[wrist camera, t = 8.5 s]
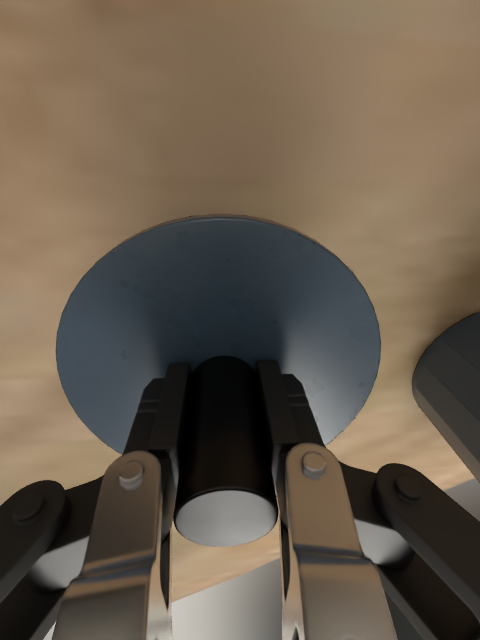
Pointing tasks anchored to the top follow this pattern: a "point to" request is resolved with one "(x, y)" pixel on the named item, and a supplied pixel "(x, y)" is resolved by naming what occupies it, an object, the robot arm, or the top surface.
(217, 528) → the pot lid
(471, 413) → the dark blue cylindrical container
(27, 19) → the top surface
